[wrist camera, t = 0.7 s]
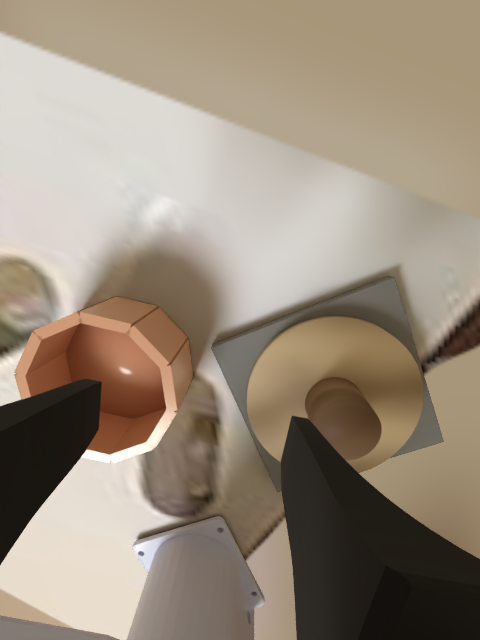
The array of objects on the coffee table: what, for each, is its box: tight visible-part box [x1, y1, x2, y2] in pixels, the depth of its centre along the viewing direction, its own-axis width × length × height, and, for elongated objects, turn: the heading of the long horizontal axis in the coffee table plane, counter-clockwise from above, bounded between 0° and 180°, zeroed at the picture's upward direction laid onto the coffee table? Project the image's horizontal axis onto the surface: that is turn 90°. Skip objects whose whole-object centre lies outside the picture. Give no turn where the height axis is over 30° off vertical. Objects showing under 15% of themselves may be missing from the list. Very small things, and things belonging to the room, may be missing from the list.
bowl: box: [15, 296, 193, 463], centre depth 19 cm, size 9×9×4 cm
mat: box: [211, 276, 444, 492], centre depth 21 cm, size 12×12×1 cm
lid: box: [247, 315, 424, 473], centre depth 19 cm, size 11×11×4 cm
